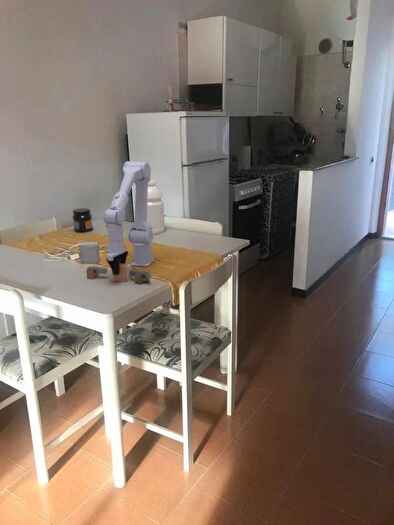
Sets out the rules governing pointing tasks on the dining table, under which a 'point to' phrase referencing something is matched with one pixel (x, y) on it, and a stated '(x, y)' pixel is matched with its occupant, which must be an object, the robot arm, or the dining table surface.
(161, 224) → the bottle
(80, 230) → the supplement container
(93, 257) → the medicine box
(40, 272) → the dining table surface
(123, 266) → the block
